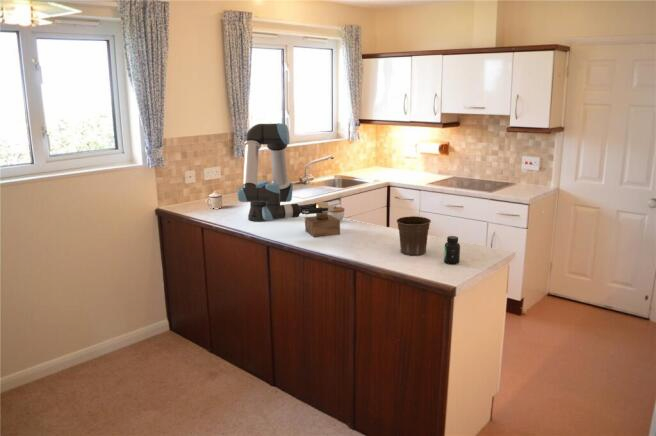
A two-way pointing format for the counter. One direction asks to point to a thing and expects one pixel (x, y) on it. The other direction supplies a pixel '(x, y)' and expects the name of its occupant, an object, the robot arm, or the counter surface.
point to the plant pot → (413, 234)
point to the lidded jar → (337, 213)
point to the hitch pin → (325, 214)
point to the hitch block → (322, 226)
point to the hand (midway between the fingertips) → (330, 206)
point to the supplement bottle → (452, 251)
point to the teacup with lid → (215, 200)
